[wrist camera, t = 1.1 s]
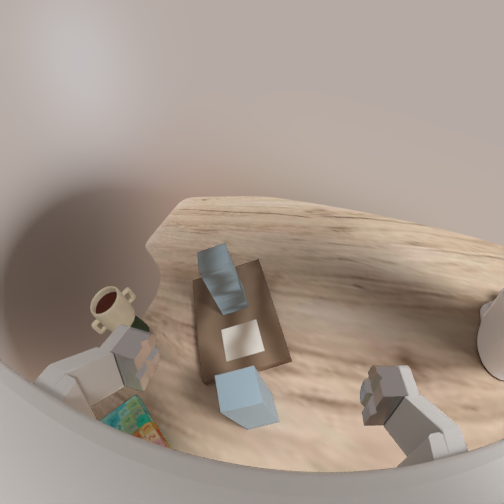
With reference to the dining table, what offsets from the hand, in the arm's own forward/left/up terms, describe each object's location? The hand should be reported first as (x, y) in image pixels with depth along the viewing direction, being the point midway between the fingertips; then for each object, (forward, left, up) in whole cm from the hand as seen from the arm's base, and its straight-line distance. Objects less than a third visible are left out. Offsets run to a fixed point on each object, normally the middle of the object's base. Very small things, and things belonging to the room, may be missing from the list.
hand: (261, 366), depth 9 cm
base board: (+6, -27, -33) cm, 43 cm away
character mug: (+28, -29, -33) cm, 52 cm away
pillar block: (+6, -8, -33) cm, 35 cm away
